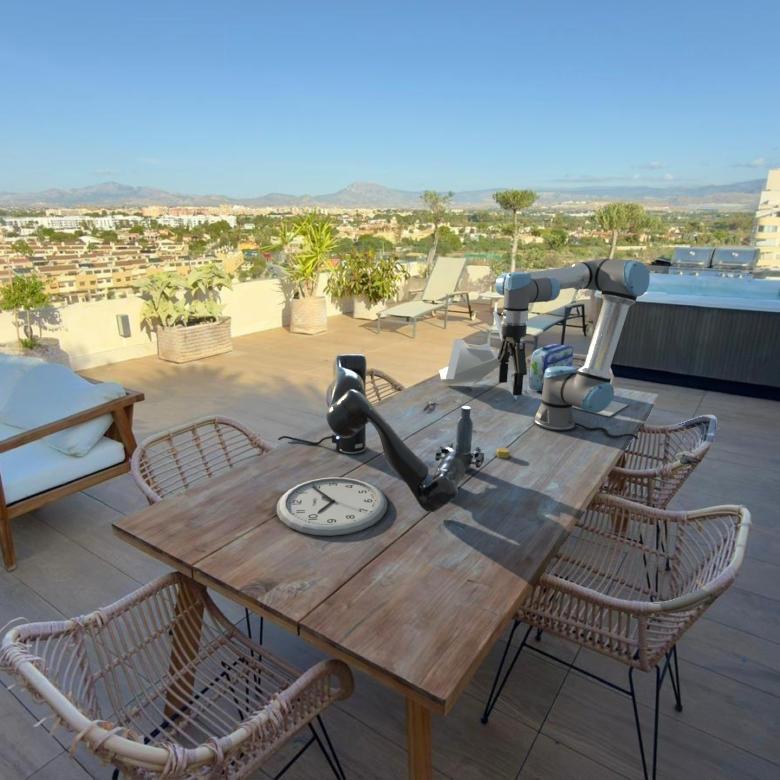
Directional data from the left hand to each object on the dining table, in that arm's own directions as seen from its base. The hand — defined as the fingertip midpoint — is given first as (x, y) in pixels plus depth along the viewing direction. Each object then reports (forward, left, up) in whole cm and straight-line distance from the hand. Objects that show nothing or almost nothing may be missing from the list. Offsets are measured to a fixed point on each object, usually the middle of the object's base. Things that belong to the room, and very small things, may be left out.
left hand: (464, 447), depth 166 cm
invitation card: (+42, +81, -6) cm, 91 cm away
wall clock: (-28, -38, -6) cm, 48 cm away
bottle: (0, -2, -6) cm, 7 cm away
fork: (-27, +52, -6) cm, 58 cm away
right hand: (+11, +13, +17) cm, 24 cm away
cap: (+11, +13, -4) cm, 17 cm away
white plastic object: (-11, +80, -6) cm, 81 cm away
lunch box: (+19, +100, -6) cm, 102 cm away
